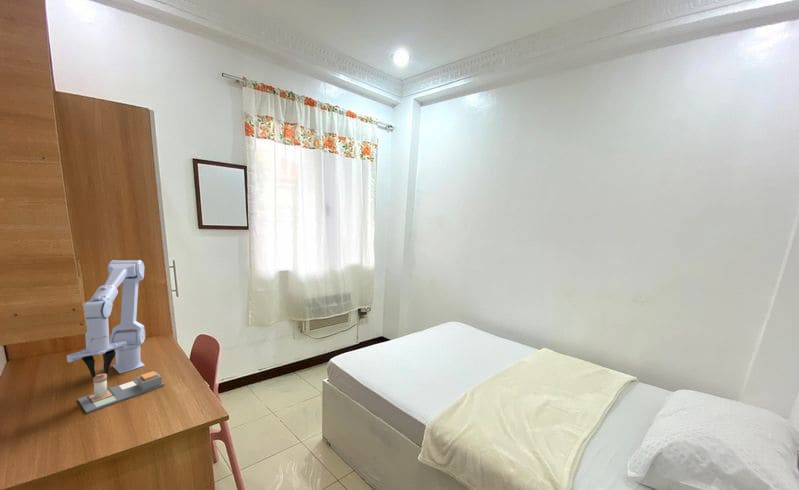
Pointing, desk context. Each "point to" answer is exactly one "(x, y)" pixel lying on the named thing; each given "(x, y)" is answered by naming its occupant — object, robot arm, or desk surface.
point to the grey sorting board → (120, 393)
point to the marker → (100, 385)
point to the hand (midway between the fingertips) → (99, 374)
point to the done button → (148, 376)
